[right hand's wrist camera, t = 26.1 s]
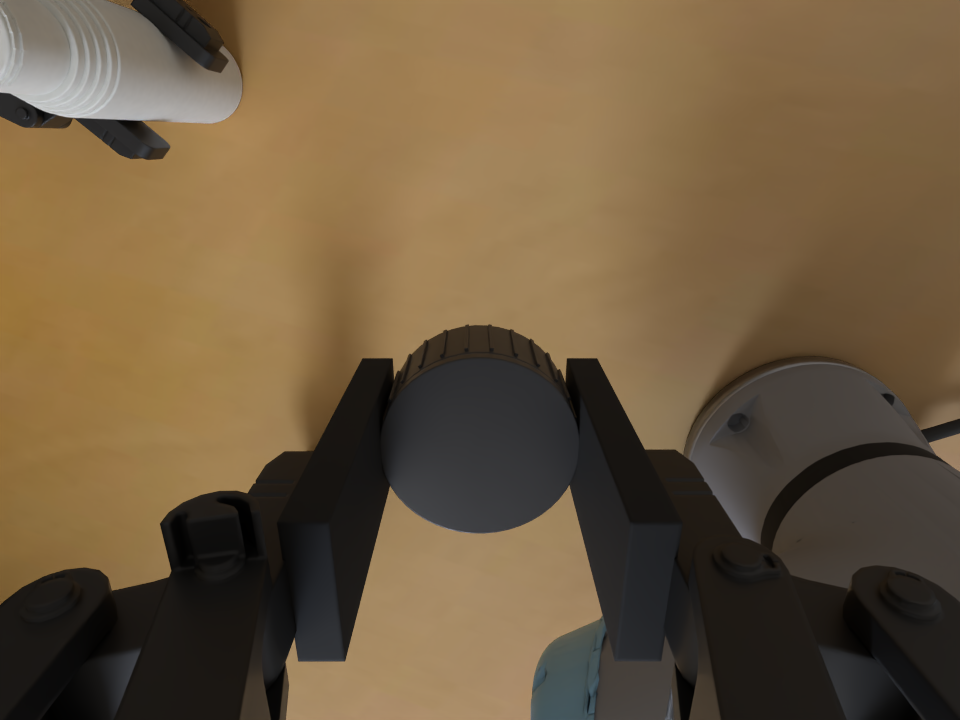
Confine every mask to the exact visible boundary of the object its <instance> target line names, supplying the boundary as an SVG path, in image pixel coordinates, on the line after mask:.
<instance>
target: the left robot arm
mask: <svg viewBox="0 0 960 720" xmlns="http://www.w3.org/2000/svg"><path fill="white" fill-rule="evenodd" d="M131 5H132V6H133V7H134V8H135V9H136V10H137V11H138V12H140V13H141V14H142V15H143V16H144V17H145V18H147V19H148V20H149V21H150V22H151V23H152V24H153V25H154V26H155V27H157V28H158V29H159V30H160V31H161V32H162V33H163V34H165V35H166V36H167V37H168V38H169V39H170V40H171V41H173V42H174V43H175V44H176V45H177V46H178V47H179V48H180V49H182V50H183V51H184V52H185V53H186V54H187V55H188V56H190V57H191V58H192V59H193V60H194V61H195V62H197V63H198V64H199V65H200V66H202V67H203V68H205V69H207V70H210V71H214V72H218V73H221V72H222V71H223V69H224V68H225V66H226V65H227V63H228V62H229V60H228V59H227V57H226V56H224V55H223V54H222V53H221V52H220V51H219V50H220V48H221V47H222V45H223V44H224V42H223V40H222V39H221V37H220V35H219V33H218V32H217V30H215V29H214V28H213V27H212V26H211V25H210V24H209V23H208V22H206V21H205V20H204V19H203V18H202V17H201V16H200V15H199V14H198V13H197V12H196V11H194V10H193V9H192V8H191V7H190V6H189V5H188V4H187V3H186V2H184V1H183V0H133V1H132V3H131ZM0 116H1V117H3V118H5V119H7V120H9V121H11V122H13V123H15V124H17V125H20V126H22V127H25V128H67V127H68V126H69V125H70V124H71V121H72V119H73V118H70V117H63V116H59V115H56V114H51V113H48V112H45V111H42V110H40V109H38V108H36V107H34V106H33V105H31V104H29V103H27V102H25V101H23V100H21V99H20V98H18V97H16V96H14V95H12V94H10V93H1V92H0ZM75 119H76V120H77V121H78V122H80V123H81V124H82V125H83V126H85V127H86V128H87V129H88V130H90V131H91V132H92V133H93V134H95V135H96V136H97V137H98V138H100V139H101V140H102V141H103V142H105V143H106V144H107V145H109V146H110V147H111V148H112V149H113V150H114V151H116V152H117V153H118V154H119V155H122V156H124V157H127V158H130V159H140V158H144V159H147V160H153V159H163V158H164V156H165V155H166V153H167V152H168V150H169V149H170V145H169V144H168V143H167V142H166V141H165V140H164V139H163V138H161V137H160V136H159V135H158V134H157V133H155V132H154V131H153V130H152V129H151V128H149V127H148V126H147V125H146V124H145V123H143V122H142V121H139V120H115V119H91V118H75Z"/></svg>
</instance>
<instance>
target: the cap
mask: <svg viewBox="0 0 960 720" xmlns="http://www.w3.org/2000/svg"><path fill="white" fill-rule="evenodd" d="M387 402H388V405H387V408H386V411H385V414H384V417H383V424H382V428H381V431H380V445H381V459H382V468H383V470H384V473H385V476H386V478H387V480H388V482H389V484H390V486H391V488H392V489H393V491H394V492H395V493H396V495H397V496H398V497H399V499H400V500H401V501H402V502H403V503H404V504H405V505H406V506H407V507H408V508H410V509H411V510H412V511H413V512H414V513H416V514H417V515H419V516H420V517H422V518H424V519H425V520H427V521H429V522H431V523H433V524H435V525H438V526H441V527H443V528H446V529H450V530H454V531H459V532H466V533H493V532H500V531H504V530H509V529H512V528H515V527H518V526H521V525H523V524H525V523H528V522H530V521H532V520H533V519H535V518H537V517H538V516H540V515H542V514H543V513H544V512H546V511H547V510H548V509H549V508H551V507H552V506H553V505H554V504H555V503H556V502H557V501H558V500H559V499H560V497H561V496H562V495H563V493H564V492H565V491H566V489H567V488H568V486H569V484H570V482H571V481H572V479H573V476H574V474H575V471H576V469H577V462H578V449H579V429H578V424H577V417H576V414H575V411H574V408H573V405H572V402H571V397H570V394H569V392H568V389H567V386H566V384H565V381H564V378H563V375H562V373H561V370H560V369H559V370H557V368H556V366H555V364H554V363H553V362H552V360H551V358H550V355H549V353H548V352H547V353H545V352H544V351H543V350H542V349H541V348H540V347H539V346H537V345H536V344H535V343H534V341H533V340H532V339H530V340H529V339H527V338H526V337H524V336H522V335H520V334H518V333H515V332H514V330H512V329H510V330H507V329H503V328H500V327H494V326H492V325H488V326H483V325H474V326H469V325H465V327H460V328H455V329H451V330H449V331H447V330H444V331H443V333H441V334H439V335H437V336H435V337H433V338H431V339H429V340H428V341H427V340H425V341H424V343H423V345H421V346H420V347H419V348H418V349H417V350H416V351H415V352H414V353H413V354H412V355H411V354H409V355H408V358H407V361H406V362H405V364H404V366H403V367H402V369H401V371H397V374H396V377H395V380H394V383H393V386H392V389H391V392H390V395H389V398H388V401H387Z"/></svg>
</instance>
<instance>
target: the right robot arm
mask: <svg viewBox="0 0 960 720" xmlns="http://www.w3.org/2000/svg"><path fill="white" fill-rule="evenodd" d="M393 383H394V373H393V358H363V359H362V361H361V362H360V364H359V366H358V368H357V370H356V372H355V374H354V376H353V378H352V380H351V382H350V383H349V385H348V387H347V389H346V391H345V393H344V395H343V397H342V399H341V401H340V403H339V404H338V406H337V408H336V410H335V412H334V414H333V416H332V418H331V420H330V422H329V424H328V425H327V427H326V429H325V431H324V433H323V435H322V437H321V439H320V441H319V443H318V445H317V446H316V448H315V450H314V451H285V452H283V453H282V454H280V455H279V456H278V457H276V458H275V459H274V460H272V461H271V462H269V463H268V464H267V465H266V466H265V467H264V469H263V470H262V472H261V473H260V475H259V476H258V478H257V479H256V484H253V486H252V487H251V489H250V490H249V492H248V493H243V492H239V491H218V492H213V493H208V494H204V495H200V496H198V497H195V498H193V499H190V500H188V501H186V502H183V503H182V504H180V505H179V506H177V507H176V508H175V509H173V510H172V511H170V512H169V513H168V514H167V515H166V517H165V518H164V519H163V521H162V522H161V523H160V526H161V530H162V534H163V538H164V542H165V546H166V550H167V554H168V558H169V562H170V566H171V574H170V576H169V577H168V578H164V579H161V580H158V581H154V582H150V583H146V584H141V585H137V586H132V587H128V588H123V589H119V590H114V591H112V589H111V586H110V583H109V579H108V577H107V576H106V575H104V574H103V573H102V572H101V571H100V570H96V569H90V568H76V569H68V570H63V571H60V572H56V573H52V574H50V575H47V576H44V577H42V578H40V579H38V580H36V581H34V582H32V583H30V584H28V585H26V586H24V587H22V588H21V589H20V590H18V591H17V592H16V593H14V594H13V595H12V596H10V597H9V598H8V599H7V600H5V601H4V602H3V603H2V604H1V605H0V720H286V711H287V701H288V690H289V682H288V675H287V669H286V663H285V662H286V659H287V656H288V653H289V651H290V648H291V645H292V643H293V640H294V637H295V643H296V649H297V656H298V661H345V660H346V656H347V652H348V648H349V644H350V640H351V636H352V632H353V628H354V624H355V620H356V616H357V613H358V609H359V605H360V601H361V597H362V593H363V589H364V585H365V581H366V577H367V573H368V569H369V566H370V562H371V558H372V554H373V550H374V546H375V542H376V538H377V534H378V530H379V526H380V523H381V519H382V515H383V511H384V507H385V503H386V499H387V495H388V491H389V487H390V484H389V482H388V480H387V478H386V476H385V473H384V470H383V468H382V459H381V445H380V431H381V428H382V424H383V417H384V414H385V411H386V408H387V405H388V402H387V401H388V398H389V395H390V392H391V389H392V386H393ZM565 384H566V386H567V389H568V392H569V394H570V397H571V402H572V405H573V408H574V411H575V414H576V417H577V424H578V429H579V449H578V462H577V469H576V471H575V474H574V476H573V479H572V481H571V482H570V484H569V485H570V489H571V493H572V497H573V501H574V504H575V508H576V512H577V516H578V520H579V524H580V528H581V532H582V536H583V540H584V544H585V548H586V551H587V555H588V559H589V563H590V567H591V571H592V575H593V579H594V583H595V587H596V591H597V594H598V598H599V602H600V606H601V610H602V614H603V616H602V617H601V619H600V620H597V621H595V622H593V623H590V624H588V625H586V626H584V627H581V628H579V629H577V630H574V631H572V632H570V633H567V634H565V635H563V636H561V637H559V638H557V639H555V640H554V641H553V642H552V643H551V644H549V645H548V647H547V648H546V649H545V651H544V652H543V654H542V656H541V658H540V660H539V662H538V665H537V668H536V671H535V675H534V681H533V688H532V699H531V720H960V472H959V471H958V470H956V469H955V468H953V467H952V466H950V465H949V464H948V463H946V462H945V461H943V460H942V459H941V458H939V457H938V456H936V454H935V453H934V451H933V450H932V448H931V446H930V445H929V442H932V441H936V440H939V439H943V438H946V437H949V436H953V435H956V434H959V433H960V419H957V420H954V421H950V422H947V423H944V424H941V425H937V426H934V427H930V428H927V429H924V430H920V429H919V427H918V426H917V424H916V423H915V421H914V420H913V418H912V417H911V415H910V413H909V411H908V410H907V408H906V407H905V406H904V404H903V403H902V402H901V400H900V399H899V398H898V397H897V396H896V395H895V394H894V393H893V392H892V391H891V390H890V389H889V388H888V387H887V386H885V385H884V384H883V383H882V382H881V381H879V380H878V379H876V378H875V377H873V376H872V375H870V374H868V373H867V372H865V371H863V370H862V369H860V368H858V367H856V366H854V365H852V364H849V363H847V362H844V361H840V360H837V359H832V358H826V357H795V358H789V359H783V360H779V361H775V362H772V363H769V364H766V365H763V366H761V367H758V368H756V369H754V370H752V371H749V372H748V373H746V374H744V375H742V376H741V377H739V378H737V379H736V380H734V381H733V382H731V383H730V384H729V385H727V386H726V387H725V388H724V389H722V390H721V391H720V392H719V393H718V394H717V395H716V396H715V397H714V398H713V399H712V400H711V401H710V402H709V403H708V404H707V405H706V407H705V408H704V409H703V411H702V412H701V413H700V415H699V416H698V418H697V420H696V421H695V423H694V425H693V427H692V429H691V431H690V433H689V436H688V439H687V441H686V445H685V449H684V455H682V454H680V453H679V452H678V451H676V450H645V449H644V447H643V445H642V443H641V442H640V440H639V438H638V436H637V434H636V432H635V430H634V428H633V426H632V424H631V422H630V421H629V419H628V417H627V415H626V413H625V411H624V409H623V407H622V405H621V403H620V401H619V400H618V398H617V396H616V394H615V392H614V390H613V388H612V386H611V384H610V382H609V380H608V379H607V377H606V375H605V373H604V371H603V369H602V367H601V365H600V363H599V361H598V359H597V358H567V366H566V383H565Z"/></svg>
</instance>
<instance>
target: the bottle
mask: <svg viewBox="0 0 960 720" xmlns="http://www.w3.org/2000/svg"><path fill="white" fill-rule="evenodd" d="M219 51H220V52H221V53H222V54H223V55H224V56H226V57H227V59H228V60H229V62H228V63H227V65H226V66H225V68H224V69H223V71H222V72H221V73H218V72H214V71H210V70H207V69H205V68H203V67H202V66H200V65H199V64H198V63H197V62H195V61H194V60H193V59H192V58H191V57H190V56H188V55H187V54H186V53H185V52H184V51H183V50H182V49H180V48H179V47H178V46H177V45H176V44H175V43H174V42H173V41H171V40H170V39H169V38H168V37H167V36H166V35H165V34H163V33H162V32H161V31H160V30H159V29H158V28H157V27H155V26H154V25H153V24H152V23H151V22H150V21H149V20H148V19H147V18H145V17H144V16H143V15H142V14H141V13H140V12H137V11H134V10H131V9H128V8H126V7H123V6H120V5H117V4H115V3H112V2H109V1H106V0H0V92H1V93H10V94H12V95H14V96H16V97H18V98H20V99H21V100H23V101H25V102H27V103H29V104H31V105H33V106H34V107H36V108H38V109H40V110H42V111H45V112H48V113H51V114H56V115H59V116H63V117H70V118H91V119H115V120H139V121H163V122H187V123H216V122H220V121H223V120H225V119H226V118H228V117H229V116H230V115H232V113H233V112H234V111H235V110H236V108H237V107H238V105H239V102H240V99H241V96H242V78H241V73H240V70H239V67H238V65H237V63H236V61H235V59H234V58H233V56H232V55H231V54H230V52H229V51H228V50H227V49H226V48H225V47H224V46H222V47H221V48H220V50H219Z"/></svg>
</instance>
